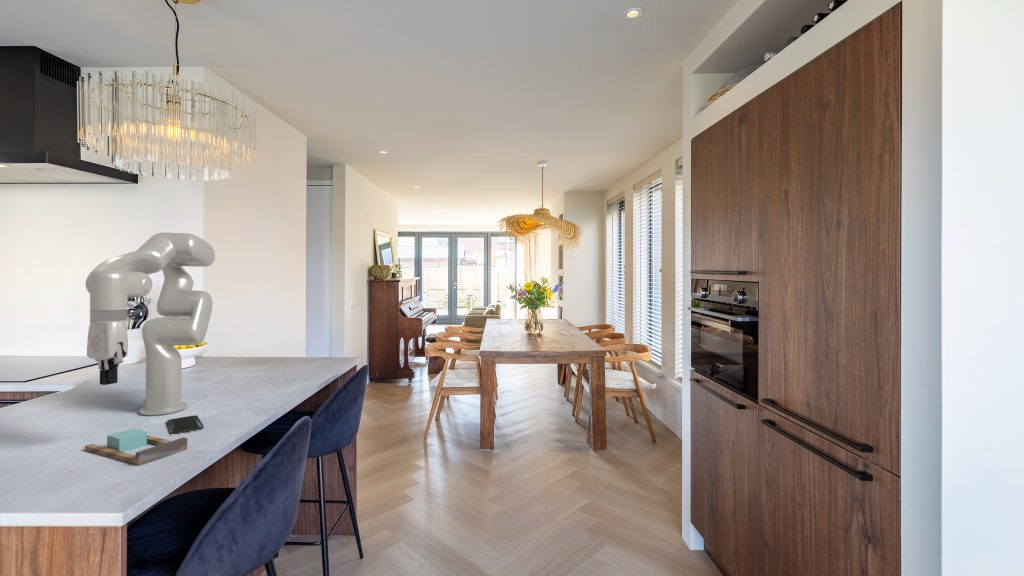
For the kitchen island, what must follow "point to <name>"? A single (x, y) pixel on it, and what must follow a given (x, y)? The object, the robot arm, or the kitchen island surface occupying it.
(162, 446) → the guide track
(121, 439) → the block
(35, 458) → the kitchen island surface
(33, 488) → the kitchen island surface
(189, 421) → the phone
